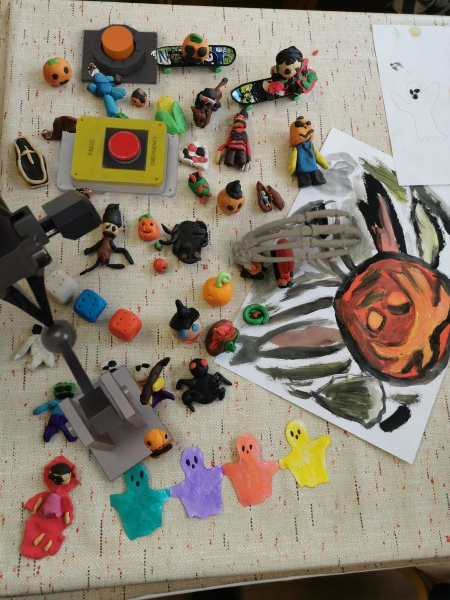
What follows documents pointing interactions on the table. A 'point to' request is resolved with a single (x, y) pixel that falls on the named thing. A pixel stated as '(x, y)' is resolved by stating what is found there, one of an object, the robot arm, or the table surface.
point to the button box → (131, 69)
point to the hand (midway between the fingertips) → (50, 323)
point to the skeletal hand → (250, 252)
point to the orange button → (117, 42)
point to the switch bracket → (122, 437)
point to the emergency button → (119, 157)
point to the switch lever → (80, 375)
